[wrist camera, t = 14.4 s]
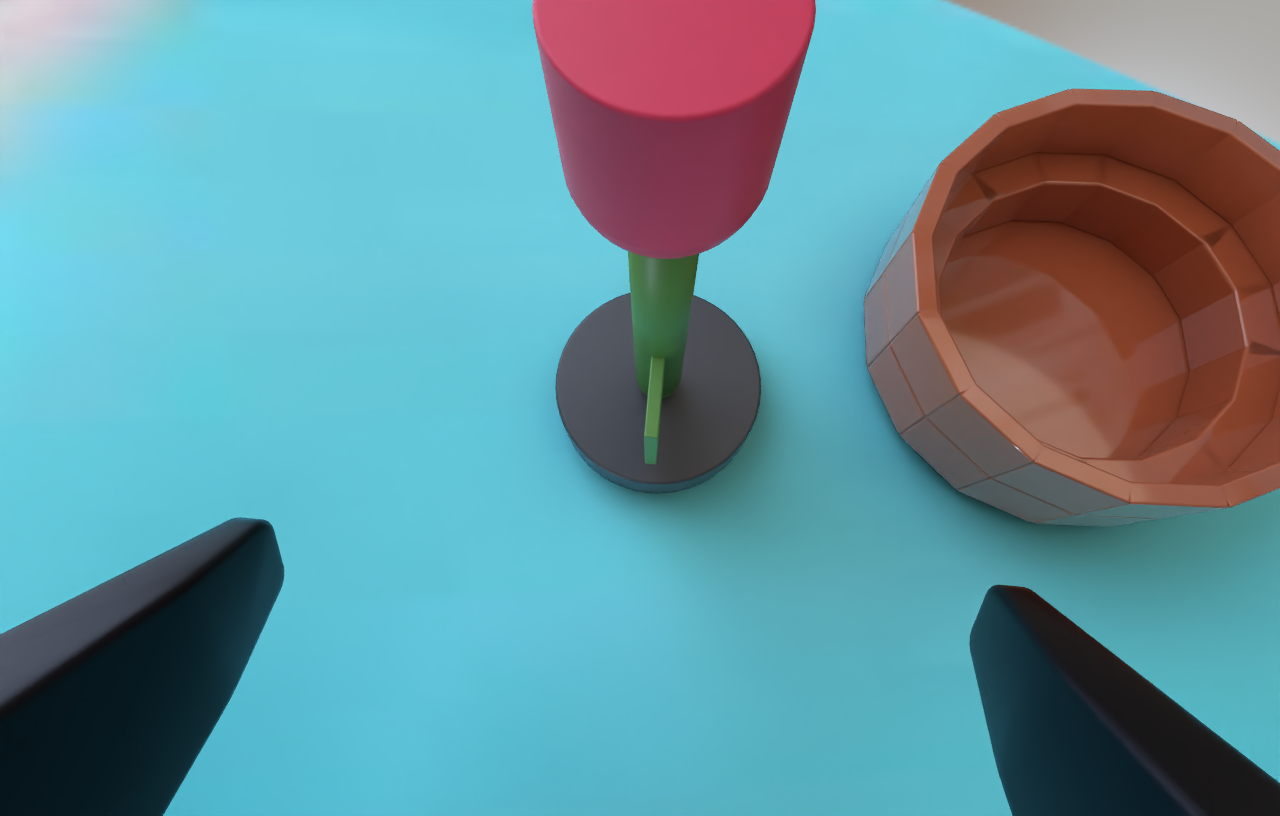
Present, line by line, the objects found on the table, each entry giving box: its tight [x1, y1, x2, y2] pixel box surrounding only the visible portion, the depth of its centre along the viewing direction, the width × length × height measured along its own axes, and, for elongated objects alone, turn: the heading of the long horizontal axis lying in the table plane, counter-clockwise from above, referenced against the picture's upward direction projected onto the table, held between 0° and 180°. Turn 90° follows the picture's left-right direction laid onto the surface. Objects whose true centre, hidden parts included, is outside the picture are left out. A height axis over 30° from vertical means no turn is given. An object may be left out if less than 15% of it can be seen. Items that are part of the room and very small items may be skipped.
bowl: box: [864, 89, 1280, 527], centre depth 18 cm, size 11×11×4 cm
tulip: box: [533, 0, 816, 493], centre depth 14 cm, size 6×6×14 cm
